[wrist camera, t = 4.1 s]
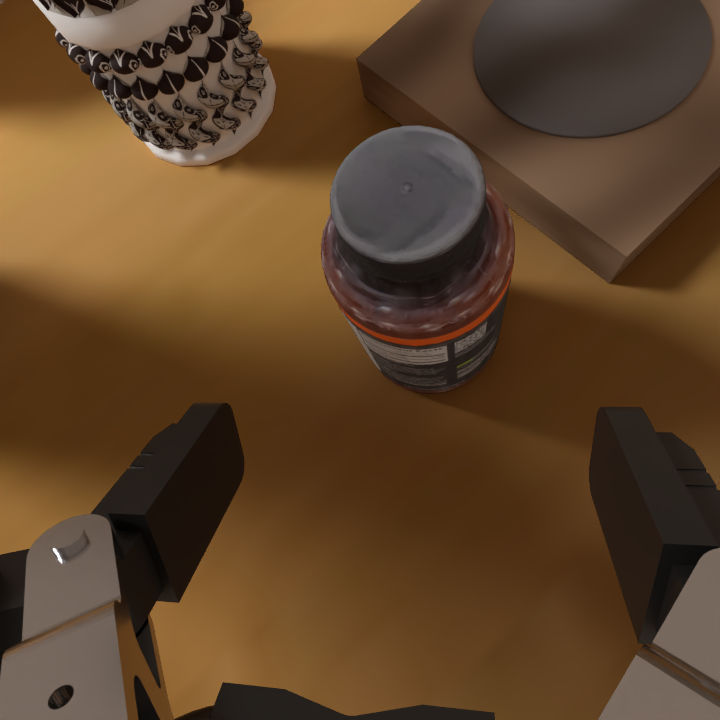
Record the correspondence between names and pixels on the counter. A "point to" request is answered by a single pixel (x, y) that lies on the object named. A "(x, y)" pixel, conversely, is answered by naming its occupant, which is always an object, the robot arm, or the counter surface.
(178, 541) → the robot arm
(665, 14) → the base board
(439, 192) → the supplement bottle
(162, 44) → the decorative candle
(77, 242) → the counter surface
